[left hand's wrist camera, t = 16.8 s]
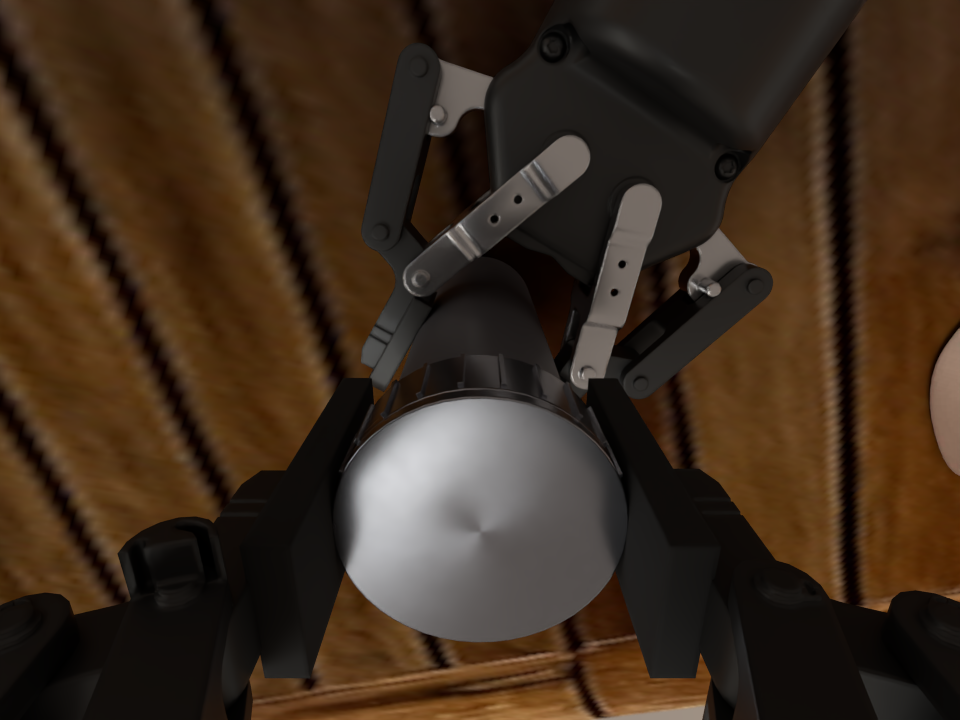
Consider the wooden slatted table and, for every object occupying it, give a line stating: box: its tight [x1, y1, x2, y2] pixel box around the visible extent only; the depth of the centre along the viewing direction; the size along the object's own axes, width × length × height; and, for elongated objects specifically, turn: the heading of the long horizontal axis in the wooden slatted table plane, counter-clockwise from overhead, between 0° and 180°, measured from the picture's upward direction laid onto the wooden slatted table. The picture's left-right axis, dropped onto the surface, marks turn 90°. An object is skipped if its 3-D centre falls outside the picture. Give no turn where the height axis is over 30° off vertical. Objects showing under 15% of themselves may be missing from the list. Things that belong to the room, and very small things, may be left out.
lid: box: [332, 353, 629, 642], centre depth 11 cm, size 6×6×2 cm
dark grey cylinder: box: [399, 257, 560, 381], centre depth 18 cm, size 5×5×16 cm
